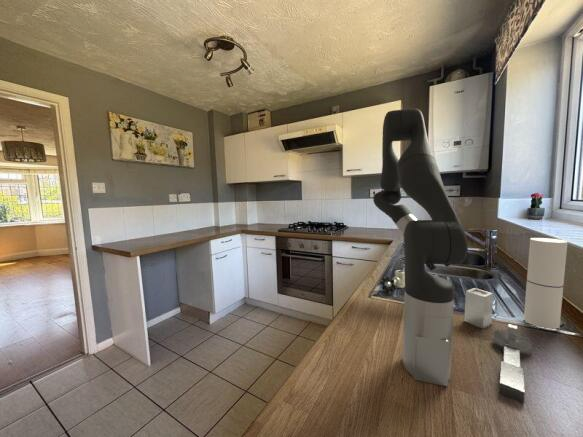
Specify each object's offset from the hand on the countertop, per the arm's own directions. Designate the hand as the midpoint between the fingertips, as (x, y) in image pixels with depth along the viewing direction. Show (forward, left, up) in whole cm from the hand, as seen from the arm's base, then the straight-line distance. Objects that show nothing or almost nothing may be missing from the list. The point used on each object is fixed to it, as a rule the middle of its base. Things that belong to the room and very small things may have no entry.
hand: (441, 267), depth 79 cm
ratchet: (-26, -7, -14) cm, 31 cm away
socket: (-8, -8, -14) cm, 18 cm away
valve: (+14, +13, -14) cm, 24 cm away
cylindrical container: (-4, -25, -14) cm, 29 cm away
